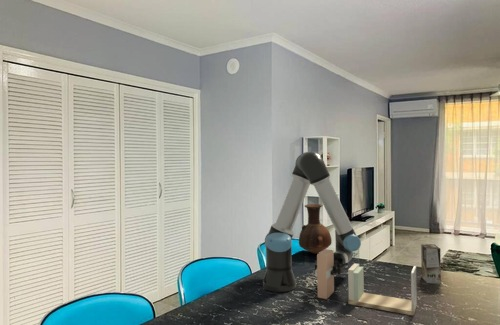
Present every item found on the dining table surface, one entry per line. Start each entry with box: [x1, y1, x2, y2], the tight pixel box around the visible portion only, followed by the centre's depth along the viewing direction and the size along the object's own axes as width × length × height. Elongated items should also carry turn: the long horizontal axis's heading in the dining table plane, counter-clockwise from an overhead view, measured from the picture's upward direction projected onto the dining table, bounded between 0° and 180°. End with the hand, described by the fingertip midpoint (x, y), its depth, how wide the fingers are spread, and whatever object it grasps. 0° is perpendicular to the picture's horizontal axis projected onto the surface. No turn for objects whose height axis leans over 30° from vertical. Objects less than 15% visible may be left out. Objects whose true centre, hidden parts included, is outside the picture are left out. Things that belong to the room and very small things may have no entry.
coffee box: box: [420, 243, 442, 284], centre depth 171 cm, size 9×6×16 cm
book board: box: [348, 292, 418, 316], centre depth 144 cm, size 24×11×2 cm, turn 60°
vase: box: [298, 203, 333, 255], centre depth 222 cm, size 25×20×30 cm
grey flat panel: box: [410, 265, 418, 311], centre depth 138 cm, size 1×10×14 cm, turn 150°
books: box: [347, 262, 365, 301], centre depth 149 cm, size 4×10×12 cm, turn 150°
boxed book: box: [316, 248, 335, 300], centre depth 155 cm, size 4×10×18 cm, turn 150°
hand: (321, 274), depth 151 cm, fingers closed on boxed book, 4 cm apart
